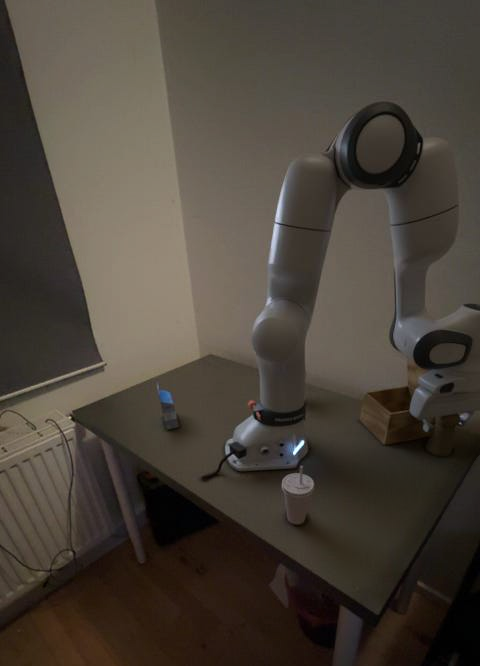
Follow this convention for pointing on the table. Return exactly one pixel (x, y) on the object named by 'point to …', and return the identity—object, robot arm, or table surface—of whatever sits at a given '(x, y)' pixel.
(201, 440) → the table surface
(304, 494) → the smoothie
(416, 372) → the bin lid
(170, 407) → the cordless phone
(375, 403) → the bin
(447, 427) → the olive tapered rounded piece
